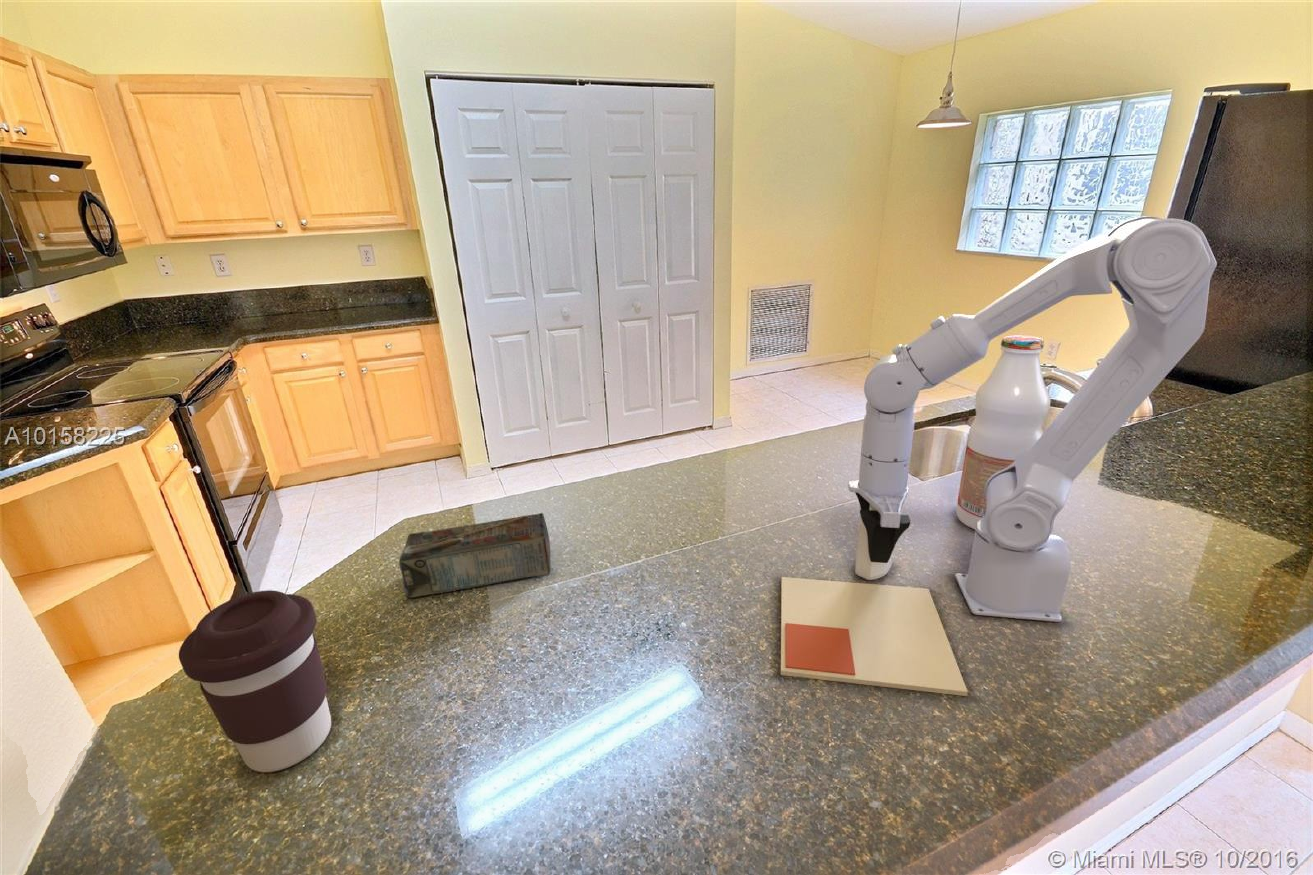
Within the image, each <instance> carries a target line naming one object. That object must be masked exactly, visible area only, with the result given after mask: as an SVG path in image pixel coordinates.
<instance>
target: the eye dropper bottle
mask: <svg viewBox="0 0 1313 875" xmlns="http://www.w3.org/2000/svg"><path fill="white" fill-rule="evenodd" d="M869 510H876V509H875V508H874V507H873V506H872V505H871V504H870V509H869ZM876 511H877V510H876ZM893 554H894V551H893V552H892V554H891V557H890V559H889V561H888V563H878V562H871V561H870V557H869V551H868V538H867V531H866V528H865V526H864V524H863V521H862V520H861V522H860V524H859V528H858V535H857V546H856V556H855V567H854V573H855V574H856V575H857V576H858V577H860V578H863V579H864V580H867V581H873V580H878V579H880V578H883V577H884V576H885V575H887V574H888V573H889V572H890V570H891V568H892V564H893Z"/></svg>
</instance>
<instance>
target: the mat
mask: <svg viewBox="0 0 1313 875" xmlns="http://www.w3.org/2000/svg"><path fill="white" fill-rule="evenodd" d="M780 579H781V580H780V581H781V582H780V584H781V585H780V589H781V590H780V592H781V593H780V675H781V676H787V677H793V678H794V677H796V678H803V679H812V680H822V681H831V682H839V683H847V684H857V685H864V686H872V687H873V686H874V687H883V688H890V689H891V688H892V689H899V690H908V691H917V692H918V691H919V692H924V693H925V692H926V693H934V694H935V693H937V694H944V695H951V696H953V695H954V696H959V697H960V696H961V697H968V693H969V692H968V689H967V686H966V683H965V680H964V678H963V676H962V674H961V671H960V668H959V665H958V663H957V660H956V657H955V655H954V652H953V649H952V646H951V644H950V641H949V639H948V636H947V634H946V631H945V628H944V625H943V623H942V620H941V618H940V616H939V613H938V610H937V607H936V605H935V603H934V600H933V597H932V594H931V591H930V589H929V588H924V587H913V586H912V587H911V586H900V585H888V584H875V583H863V582H851V581H838V580H825V579H813V578H803V577H802V578H801V577H800V578H799V577H788V576H781V578H780Z"/></svg>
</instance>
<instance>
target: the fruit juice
mask: <svg viewBox="0 0 1313 875" xmlns="http://www.w3.org/2000/svg"><path fill="white" fill-rule="evenodd" d="M1044 345H1045V341H1044V339H1043V338H1041V337H1038V336H1033V335H1023V334H1022V335H1019V334H1016V335H1015V334H1013V335H1007V336H1003V337H1002V339H1001V343H1000V350H1001V355H1000V357H999V359H998V361H997V362H996V364H995V366H994V368H993V369H992V371H991V373H990V374H989V376H988V377H987V379H986V380H985V381H984V382H983V383H982V384H981V385H980V386H979V387H978V389H977V391H976V393H975V396H974V409H975V418H974V420H973V421H972V422H971V425H970V428H969V430H968V434H967V439H966V446H965V453H964V458H963V464H962V471H961V477H960V483H959V490H958V496H957V502H956V516H957V519H958V520H959V521H960V522H961V523H962V524H964V526H965V525H966V526H967V527H968V528H970V529H973V530H975V531H976V526H977V522H978V521H979V520H980V519H981V518H983V517H984V516H985V515H986V498H985V485H986V483H987V481H988V480H989V478H990V477H991V476H992V475H994V474H995V473H997V472H999V471H1001V470H1003V469H1005V468H1007V467H1009V466H1010V465H1011V464H1012V463H1013V462H1014V461H1015V459H1016V458H1017V457H1018V456H1020V455H1021V454H1023V453H1026V452H1028V451H1029V450H1031V448H1032V447H1033V446H1034V445H1035V443H1036V442H1037V441H1038V440H1039V438H1040V437H1041V436H1042V435H1043V433H1044V430H1043V423H1044V421H1045V419H1046V417H1047V415H1048V414H1049V412H1050V408H1051V401H1052V400H1051V395H1050V392H1049V390H1048V389H1047V386H1046V383H1045V381H1044V376H1043V371H1042V366H1041V361H1040V354H1041V353H1042V352H1043V349H1044Z"/></svg>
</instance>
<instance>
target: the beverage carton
mask: <svg viewBox="0 0 1313 875" xmlns="http://www.w3.org/2000/svg"><path fill="white" fill-rule="evenodd" d="M401 552H402V553H401V554H400V557H399V559H398V566H399V570H400V573H401V577H402V584H403V587H404V590H405V594H406V597H407V598H408V599H411V598H417V597H422V596H429V595H436V594H441V593H443V594H444V593H449V592H454V591H459V590H460V591H461V590H464V589H470V588H475V587H483V586H487V585H493V584H498V583H502V582H503V583H504V582H507V581H508V582H509V581H514V580H519V579H526V578H532V577H538V576H543V575H549V574H551V542H550V535H549V531H548V527H547V523H546V519H545V516H544V513H543V512H541V513H535V514H528V515H521V516H517V517H516V516H515V517H510V518H503V519H497V520H492V521H487V522H480V523H474V524H467V525H462V526H455V527H448V528H442V529H436V530H430V531H421V532H420V531H419V532H414V533H413V532H412V533H409V534H408V536H407V537H406V541H405V544H404V547H403V549H402V551H401Z"/></svg>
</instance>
